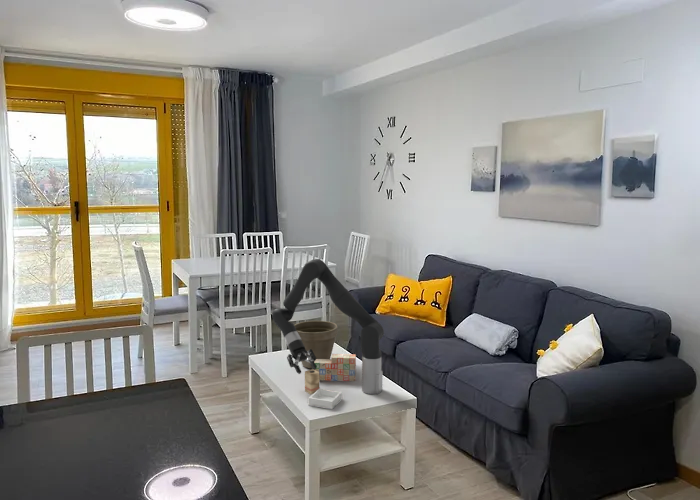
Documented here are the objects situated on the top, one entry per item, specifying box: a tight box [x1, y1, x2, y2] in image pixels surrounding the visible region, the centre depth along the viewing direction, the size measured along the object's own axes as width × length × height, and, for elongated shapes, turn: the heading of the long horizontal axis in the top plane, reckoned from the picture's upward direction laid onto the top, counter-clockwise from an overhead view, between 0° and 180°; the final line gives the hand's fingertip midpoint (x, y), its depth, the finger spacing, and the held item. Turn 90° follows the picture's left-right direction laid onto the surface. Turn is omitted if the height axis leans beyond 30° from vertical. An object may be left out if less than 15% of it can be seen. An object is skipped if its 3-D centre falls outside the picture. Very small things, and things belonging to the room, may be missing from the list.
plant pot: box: [294, 320, 338, 370], centre depth 302 cm, size 25×25×22 cm
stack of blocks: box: [314, 353, 357, 382], centre depth 283 cm, size 21×6×12 cm, turn 87°
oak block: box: [304, 369, 321, 395], centre depth 266 cm, size 5×5×10 cm
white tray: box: [307, 388, 343, 410], centre depth 254 cm, size 12×12×4 cm
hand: (307, 371), depth 268 cm, fingers open, 8 cm apart
